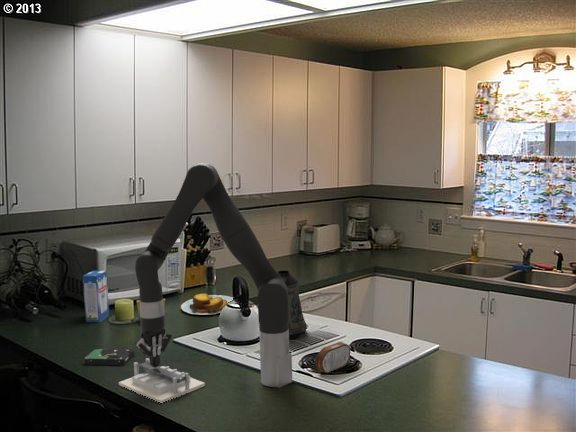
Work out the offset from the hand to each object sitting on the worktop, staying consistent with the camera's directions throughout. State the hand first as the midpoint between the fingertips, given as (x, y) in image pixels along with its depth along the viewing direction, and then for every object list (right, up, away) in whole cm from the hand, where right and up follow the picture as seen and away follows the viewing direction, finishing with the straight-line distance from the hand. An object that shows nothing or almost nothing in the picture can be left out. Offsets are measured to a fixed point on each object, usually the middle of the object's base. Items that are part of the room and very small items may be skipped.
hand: (155, 366), depth 207 cm
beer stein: (+42, +2, +45) cm, 61 cm away
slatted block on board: (+2, -6, -1) cm, 6 cm away
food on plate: (+7, +6, +84) cm, 84 cm away
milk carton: (-40, +4, +73) cm, 83 cm away
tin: (+58, -3, +9) cm, 58 cm away
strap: (+2, -2, -2) cm, 4 cm away
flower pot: (-15, +3, +68) cm, 70 cm away
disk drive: (-21, -4, +23) cm, 31 cm away
